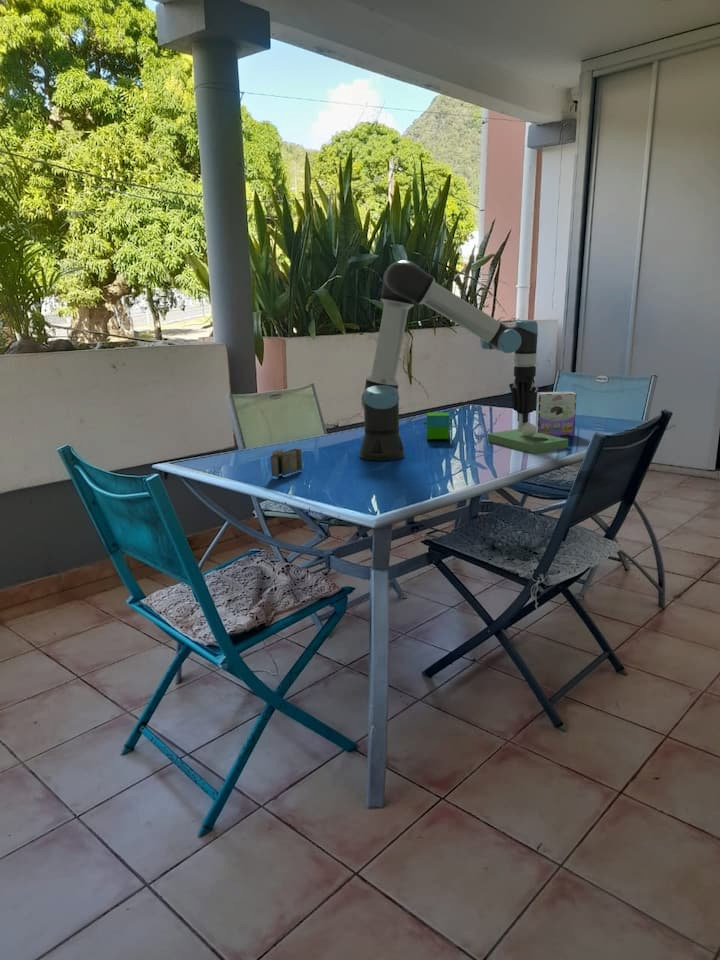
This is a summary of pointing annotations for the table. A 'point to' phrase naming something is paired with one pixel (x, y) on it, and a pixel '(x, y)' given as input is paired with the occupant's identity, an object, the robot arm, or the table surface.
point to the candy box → (556, 413)
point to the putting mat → (527, 441)
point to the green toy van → (437, 426)
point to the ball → (528, 429)
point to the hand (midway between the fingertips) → (522, 431)
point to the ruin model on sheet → (286, 462)
